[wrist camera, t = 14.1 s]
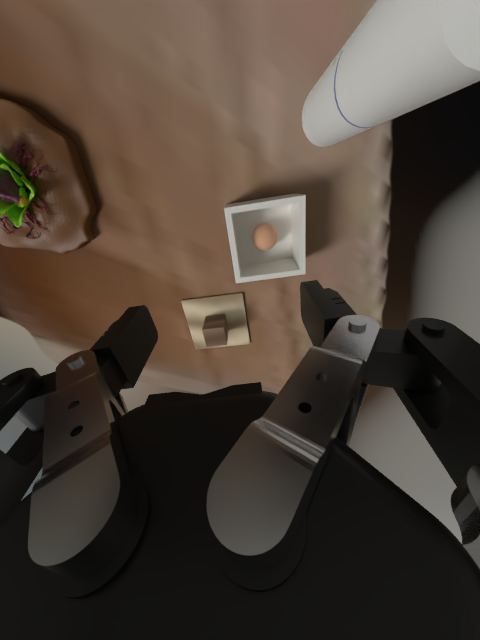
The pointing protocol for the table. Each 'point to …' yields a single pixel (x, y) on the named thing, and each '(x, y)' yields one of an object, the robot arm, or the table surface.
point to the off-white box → (290, 244)
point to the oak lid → (217, 320)
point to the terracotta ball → (264, 236)
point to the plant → (41, 185)
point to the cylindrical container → (394, 66)
